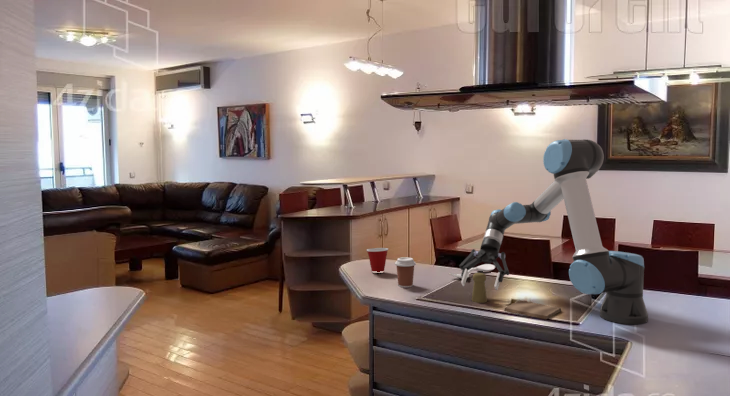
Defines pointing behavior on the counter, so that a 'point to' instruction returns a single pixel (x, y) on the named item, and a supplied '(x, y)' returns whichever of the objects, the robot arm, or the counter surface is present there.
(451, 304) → the counter surface
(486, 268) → the spoon
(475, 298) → the cork
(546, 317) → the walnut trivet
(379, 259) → the plastic cup
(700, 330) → the counter surface
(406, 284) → the coffee cup
